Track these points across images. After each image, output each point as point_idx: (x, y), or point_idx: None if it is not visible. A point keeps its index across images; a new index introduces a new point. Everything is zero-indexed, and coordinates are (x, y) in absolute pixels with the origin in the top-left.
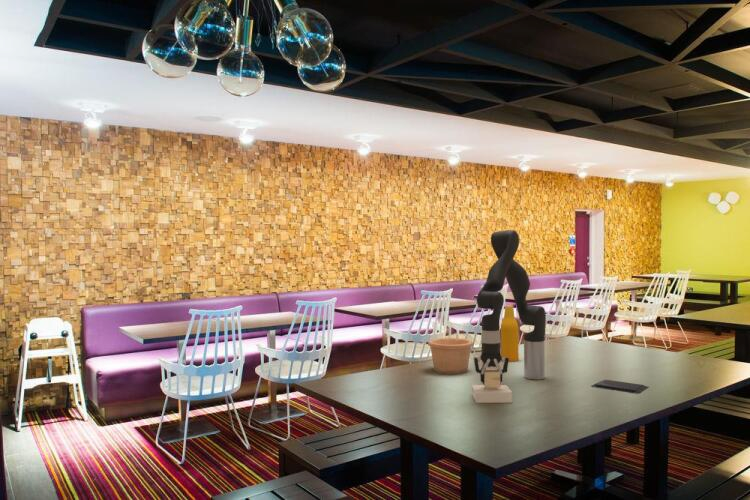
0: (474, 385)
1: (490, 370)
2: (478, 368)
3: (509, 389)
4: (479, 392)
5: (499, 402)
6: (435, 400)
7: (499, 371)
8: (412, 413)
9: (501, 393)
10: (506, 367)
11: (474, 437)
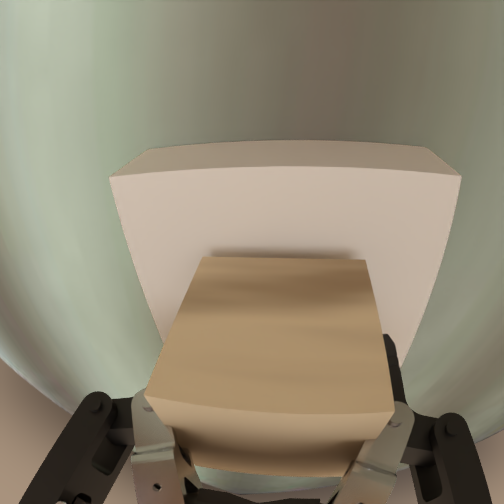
0: (132, 190)
1: (259, 449)
2: (119, 461)
3: (419, 319)
4: None
5: None
6: (22, 265)
7: None
8: (42, 366)
9: None
10: (436, 489)
11: (206, 467)
